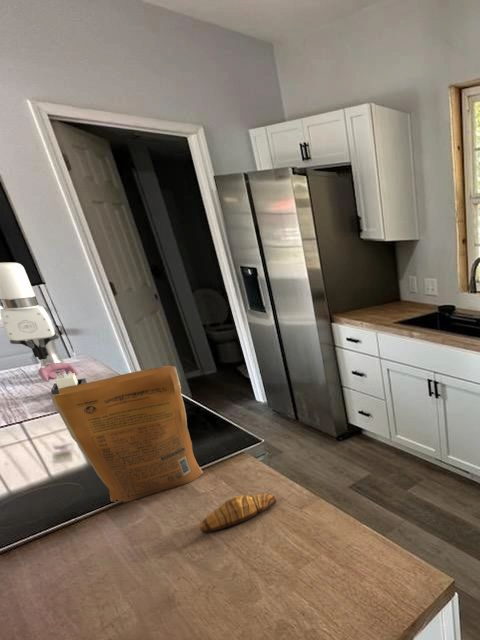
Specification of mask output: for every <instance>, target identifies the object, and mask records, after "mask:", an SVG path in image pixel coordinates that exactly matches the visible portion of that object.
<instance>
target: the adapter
mask: <svg viewBox="0 0 480 640" xmlns="http://www.w3.org/2000/svg"><path fill="white" fill-rule="evenodd" d="M77 380H78V383H79V384H84V383H88V381H87V379H86V378H79V379H78V378H77ZM50 389H51V390H50V393H51V395H58V394H60V393H59V390H58V386H57V384H56V382H54V383H53V385H52V387H51V388H50Z"/></svg>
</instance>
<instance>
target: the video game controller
mask: <svg viewBox="0 0 480 640" xmlns="http://www.w3.org/2000/svg"><path fill="white" fill-rule="evenodd" d="M56 370H61V371H60V372H59V375H62V373H63V372H65V373H66V374H69V372H70V373H71V374H72V373H75V376H77V375H78V374H79V373H78V370H77V369H76V368H75V366H74V365H73V364H72V363H69V362H67V361H63V362H57V363H51V364H48V365H45V366H42V367H41V366H40V368H39V369H38V375H39V376H40V377H41V379H42V380H43V381H44V382H49V379H56V377H57V376H58V372H57V373H55V372H53V371H56Z"/></svg>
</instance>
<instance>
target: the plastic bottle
mask: <svg viewBox="0 0 480 640" xmlns="http://www.w3.org/2000/svg"><path fill="white" fill-rule="evenodd" d="M32 340H33V341H34V343H35V344H36V345H37V346H38V347H39V340H38V339H32ZM46 349H47V351H48V353H49V356H47V358H46V359H42V360H39V362H40V368H41V367H42V366H45V365H48V364H51V363H57V362H64V360H63V359H62V357H61V355H60V353H59V352H58V349H57V346H56V342H55V340H52V341H49V342H48V343H47V345H46ZM60 371H61V370H56V371H53V372H55V373H57V374H58V373H60Z"/></svg>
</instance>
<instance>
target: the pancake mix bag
mask: <svg viewBox="0 0 480 640" xmlns="http://www.w3.org/2000/svg"><path fill="white" fill-rule="evenodd" d="M58 390H59V393H60V394H58V395H52V394H51V395H50V396H51V401H52V404H53V407H54V409H55V410H56V412H57V413H58V414H59V416H60V417H61V420H62V421H63V423H64V425H65V427H66V429H67V431H68V433H69V434H70V436H71V439H72V440H74V441H75V443H76V444H77V447H78V448H79V450H80V451H81V453H82V454H83V455H84V456H85V458H86V459H87V461H88V462H89V464H90V465H91V466H92V468H93V470H94V471H95V473H96V475H97V476H98V477H99V479H100V480H101V481H102V482H103V484H104V485H105V486H106V487H107V489H108V490H109V498H110V499H109V500H110V502H112V503H113V502H115V503H128V502H133V501H134V502H135V501H137V500H140V499H142V498H145V497H149V496H152V495H155V494H158V493H161V492H164V491H168V490H170V489H174V488H177V487H180V486H183V485H187V484H190V483H191V482H194V481H195V480H197V478H199V477H200V476H201V475H202V474H203V473H204V472H203V470H202V468H201V467H200V466H199V464H198V462H197V460H196V458H195V455H194V452H193V451H194V450H193V442H192V440H191V436H190V432H189V428H188V422H187V421H188V420H187V413H186V408H185V407H186V406H185V402H184V399H183V396H182V387H181V382H180V379H179V374H178V371H177V366H173V365H163V366H157V367H152V368H146V369H142V370H136V371H132V372H126V373H123V374H119V375H115V376H112V377H111V376H110V377H108V378H104V379H99V380H95V381H89V382H88V381H87V383H84V384H79V385H73V386H68V387H64V388H60V389H58ZM116 500H118V501H116ZM121 501H123V502H121Z"/></svg>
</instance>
